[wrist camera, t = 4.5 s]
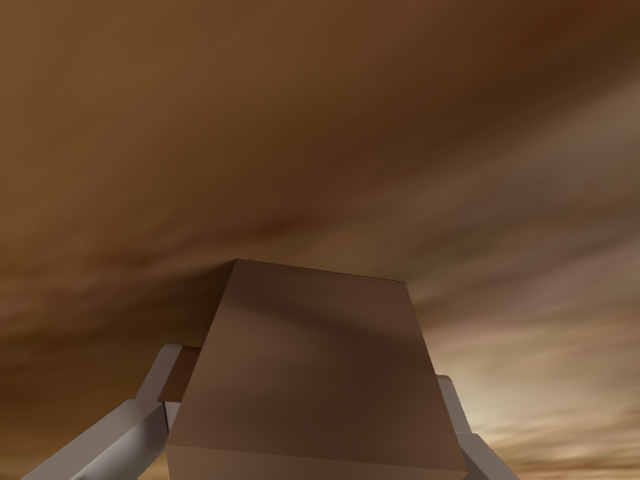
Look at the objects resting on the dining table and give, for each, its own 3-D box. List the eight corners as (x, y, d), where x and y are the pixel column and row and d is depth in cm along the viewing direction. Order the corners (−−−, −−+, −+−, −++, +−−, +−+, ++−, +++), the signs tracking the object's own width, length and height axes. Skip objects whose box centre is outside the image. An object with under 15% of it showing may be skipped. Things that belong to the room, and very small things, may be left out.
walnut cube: (232, 367, 12) (182, 550, 8) (237, 259, 9) (164, 444, 5) (364, 382, 12) (386, 563, 8) (404, 282, 10) (468, 472, 5)
